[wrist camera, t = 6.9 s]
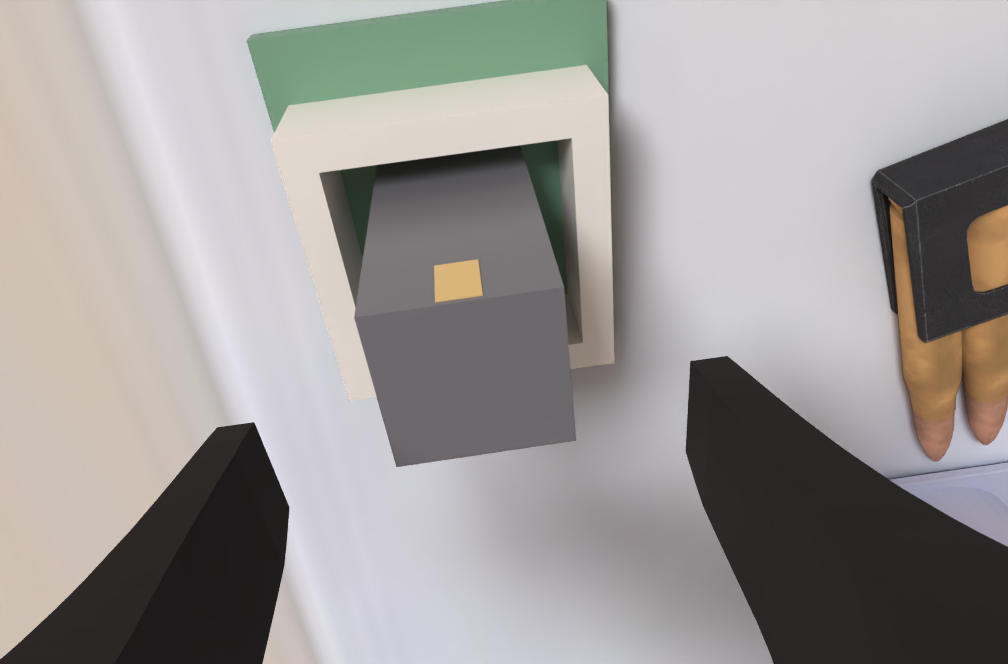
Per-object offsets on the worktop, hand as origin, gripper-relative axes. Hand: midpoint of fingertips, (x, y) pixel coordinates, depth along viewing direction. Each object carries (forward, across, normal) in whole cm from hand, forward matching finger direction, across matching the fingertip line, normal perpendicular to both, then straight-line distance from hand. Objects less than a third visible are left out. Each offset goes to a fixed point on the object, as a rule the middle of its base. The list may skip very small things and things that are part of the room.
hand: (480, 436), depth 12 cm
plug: (+8, 0, 0) cm, 8 cm away
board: (+9, 0, 0) cm, 9 cm away
